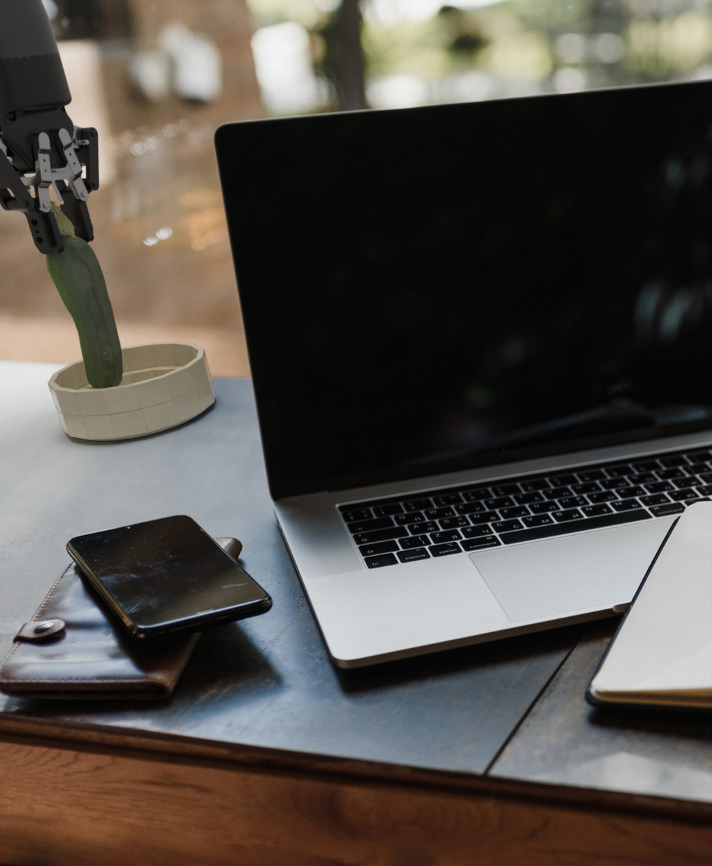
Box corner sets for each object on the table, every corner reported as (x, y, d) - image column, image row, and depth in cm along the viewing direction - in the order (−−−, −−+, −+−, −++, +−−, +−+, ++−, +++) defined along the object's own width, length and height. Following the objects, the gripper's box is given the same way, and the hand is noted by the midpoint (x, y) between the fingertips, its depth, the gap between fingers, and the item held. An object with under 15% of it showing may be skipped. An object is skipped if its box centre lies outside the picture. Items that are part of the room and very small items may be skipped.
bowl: (53, 456, 101) (35, 401, 99) (78, 406, 113) (63, 357, 111) (212, 427, 104) (198, 373, 102) (220, 381, 117) (207, 333, 115)
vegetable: (141, 387, 109) (85, 188, 101) (130, 402, 105) (71, 196, 97) (95, 393, 108) (35, 193, 100) (82, 408, 104) (19, 201, 96)
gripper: (32, 50, 101) (84, 232, 108) (-92, 63, 89) (-24, 268, 95) (101, 44, 100) (150, 229, 106) (-15, 56, 87) (48, 266, 94)
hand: (67, 246), depth 101 cm, fingers closed on vegetable, 3 cm apart
